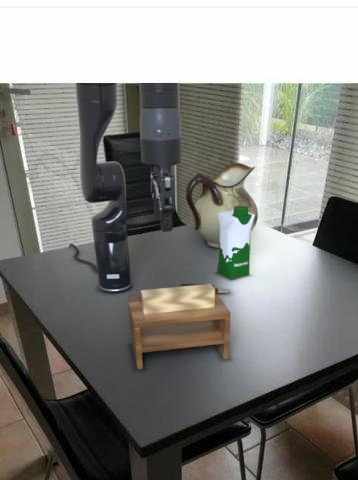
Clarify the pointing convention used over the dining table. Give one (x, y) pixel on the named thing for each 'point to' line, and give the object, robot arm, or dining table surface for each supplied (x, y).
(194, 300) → the beech stick
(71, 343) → the dining table surface
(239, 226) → the milk carton
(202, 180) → the pitcher
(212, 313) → the shelf
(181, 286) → the ice cream bar
